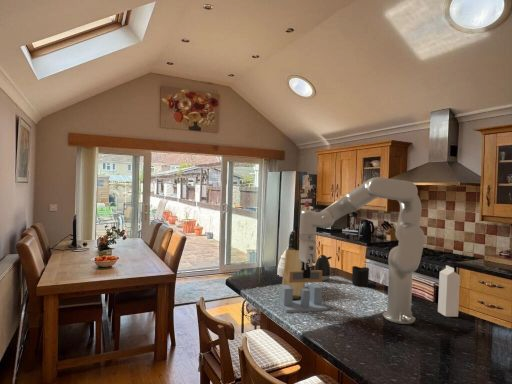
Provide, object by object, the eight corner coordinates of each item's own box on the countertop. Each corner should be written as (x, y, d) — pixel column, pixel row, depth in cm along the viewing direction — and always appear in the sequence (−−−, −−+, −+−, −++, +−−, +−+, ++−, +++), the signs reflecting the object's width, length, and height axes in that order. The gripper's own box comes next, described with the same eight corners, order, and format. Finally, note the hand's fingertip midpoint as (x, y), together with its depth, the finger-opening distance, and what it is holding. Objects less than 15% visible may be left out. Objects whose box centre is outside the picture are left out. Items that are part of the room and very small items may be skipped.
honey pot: (299, 277, 207) (300, 248, 207) (278, 277, 206) (279, 248, 206) (295, 272, 220) (296, 245, 220) (275, 272, 219) (277, 244, 219)
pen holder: (359, 281, 203) (359, 265, 203) (371, 286, 195) (372, 269, 195) (348, 283, 198) (348, 266, 198) (360, 288, 190) (361, 270, 190)
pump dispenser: (332, 282, 200) (333, 257, 199) (315, 281, 200) (316, 256, 199) (328, 277, 210) (329, 253, 210) (312, 276, 210) (313, 252, 210)
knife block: (305, 282, 197) (307, 230, 196) (303, 302, 162) (306, 239, 162) (286, 280, 199) (288, 229, 198) (280, 300, 164) (282, 237, 164)
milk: (449, 312, 157) (452, 265, 157) (458, 317, 151) (460, 268, 151) (437, 311, 157) (439, 264, 157) (445, 316, 151) (447, 268, 150)
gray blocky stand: (327, 310, 153) (328, 290, 153) (286, 312, 148) (287, 292, 148) (317, 301, 164) (318, 283, 164) (278, 303, 159) (279, 285, 159)
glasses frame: (321, 282, 155) (322, 271, 155) (289, 282, 151) (289, 271, 151) (313, 276, 163) (314, 266, 163) (282, 277, 160) (283, 266, 159)
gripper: (322, 240, 147) (320, 282, 147) (308, 234, 162) (306, 272, 162) (306, 240, 145) (304, 282, 145) (293, 234, 160) (291, 272, 160)
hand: (305, 276), depth 154 cm, fingers closed on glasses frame
